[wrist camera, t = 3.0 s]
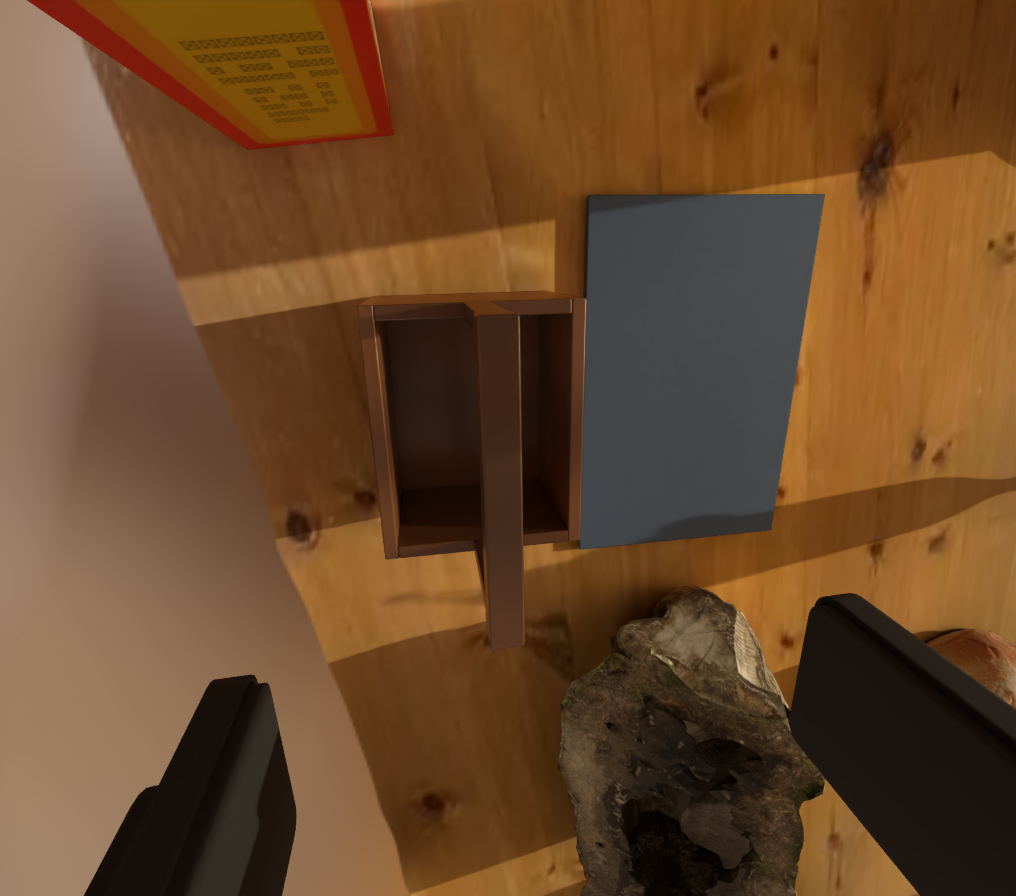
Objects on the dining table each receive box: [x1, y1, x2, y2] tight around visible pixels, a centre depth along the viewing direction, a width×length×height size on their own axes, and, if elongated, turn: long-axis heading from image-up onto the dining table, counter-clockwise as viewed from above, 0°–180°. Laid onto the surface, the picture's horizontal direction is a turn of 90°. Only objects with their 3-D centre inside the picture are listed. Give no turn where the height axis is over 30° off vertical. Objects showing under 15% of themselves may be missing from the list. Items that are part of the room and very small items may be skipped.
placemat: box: [578, 194, 825, 550], centre depth 30 cm, size 20×13×1 cm, turn 1°
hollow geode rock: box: [558, 586, 825, 896], centre depth 34 cm, size 28×13×15 cm
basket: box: [357, 291, 586, 650], centre depth 22 cm, size 11×9×14 cm
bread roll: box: [926, 629, 1016, 709], centre depth 40 cm, size 10×10×8 cm
